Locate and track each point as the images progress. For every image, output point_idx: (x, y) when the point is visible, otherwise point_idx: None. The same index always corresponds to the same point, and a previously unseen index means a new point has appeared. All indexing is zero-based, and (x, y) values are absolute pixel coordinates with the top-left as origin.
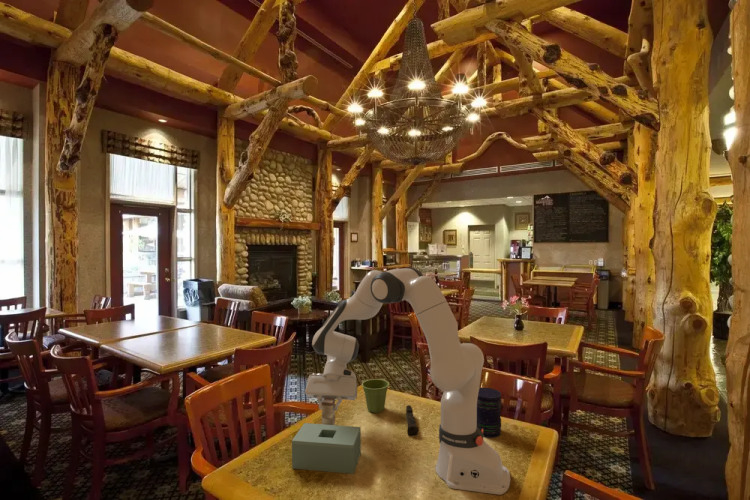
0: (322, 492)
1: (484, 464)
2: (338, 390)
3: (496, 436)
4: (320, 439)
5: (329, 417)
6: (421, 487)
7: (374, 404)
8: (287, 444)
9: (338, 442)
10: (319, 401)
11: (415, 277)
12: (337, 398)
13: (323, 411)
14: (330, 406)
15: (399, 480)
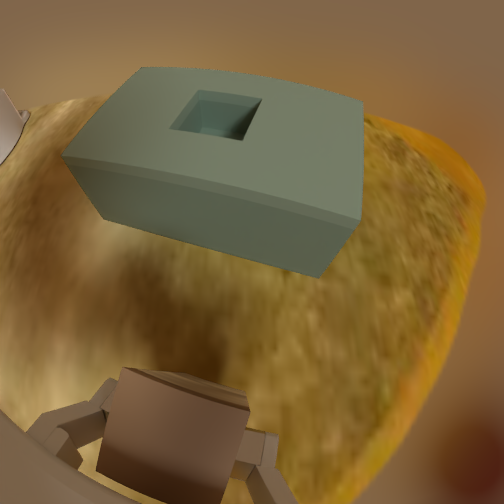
0: None
1: None
2: (13, 486)
3: None
4: (250, 86)
5: (187, 379)
6: (59, 110)
7: None
8: (391, 319)
9: (183, 73)
10: (277, 481)
11: None
12: (64, 441)
13: (231, 397)
14: (154, 375)
15: (77, 120)
